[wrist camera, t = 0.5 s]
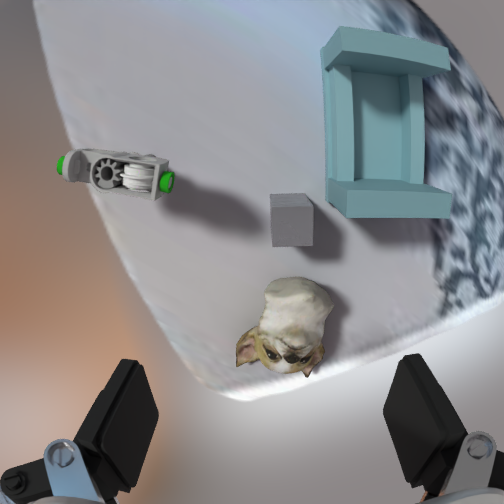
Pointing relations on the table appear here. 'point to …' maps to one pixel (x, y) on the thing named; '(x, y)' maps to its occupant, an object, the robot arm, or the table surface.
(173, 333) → the table surface
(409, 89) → the teal open frame
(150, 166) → the mechanical component
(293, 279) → the ceramic sculpture
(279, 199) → the brushed grey metal block
